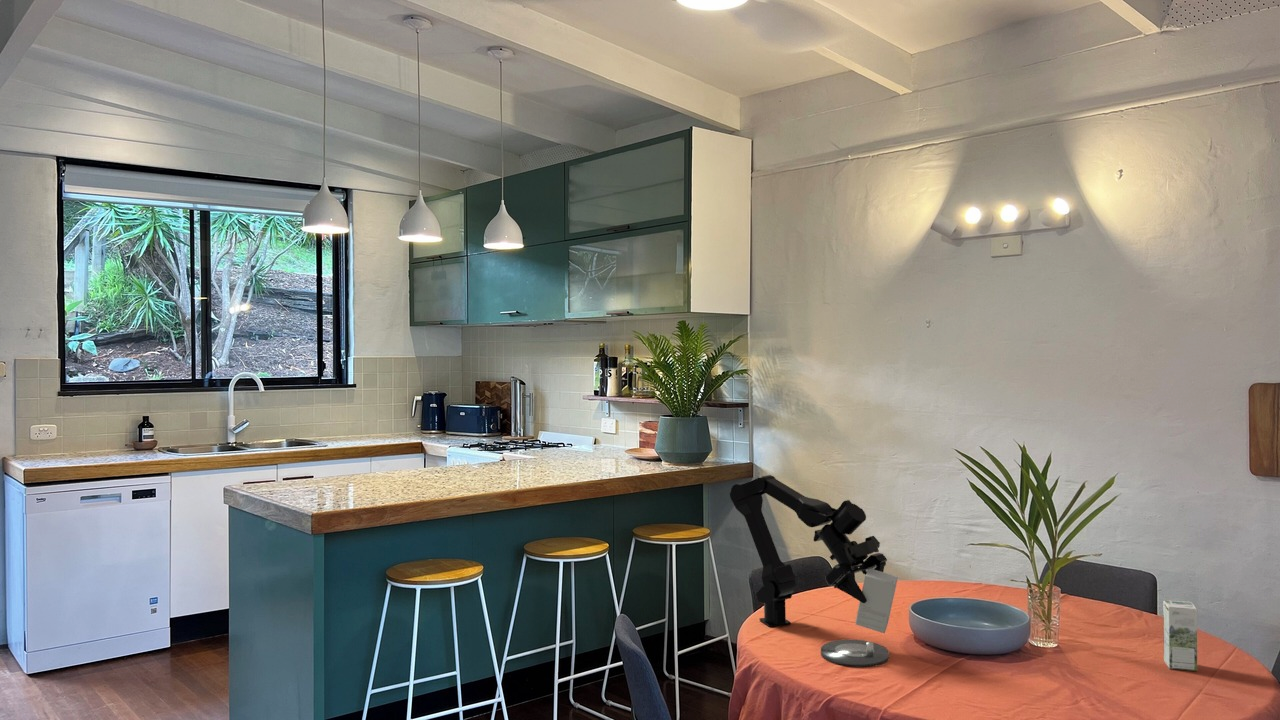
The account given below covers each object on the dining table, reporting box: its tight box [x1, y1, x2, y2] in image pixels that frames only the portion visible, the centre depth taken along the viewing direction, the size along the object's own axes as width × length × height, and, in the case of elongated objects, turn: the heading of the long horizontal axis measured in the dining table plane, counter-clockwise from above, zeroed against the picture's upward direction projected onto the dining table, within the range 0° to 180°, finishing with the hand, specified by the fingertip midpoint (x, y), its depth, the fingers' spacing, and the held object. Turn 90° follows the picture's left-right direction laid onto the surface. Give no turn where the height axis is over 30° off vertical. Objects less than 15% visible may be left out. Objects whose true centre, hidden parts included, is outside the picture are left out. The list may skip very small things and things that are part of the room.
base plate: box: [820, 638, 890, 668], centre depth 217 cm, size 16×16×4 cm
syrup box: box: [1162, 599, 1198, 672], centre depth 205 cm, size 6×6×14 cm
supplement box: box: [855, 568, 898, 634], centre depth 219 cm, size 7×7×13 cm
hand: (877, 598), depth 219 cm, fingers closed on supplement box, 9 cm apart
